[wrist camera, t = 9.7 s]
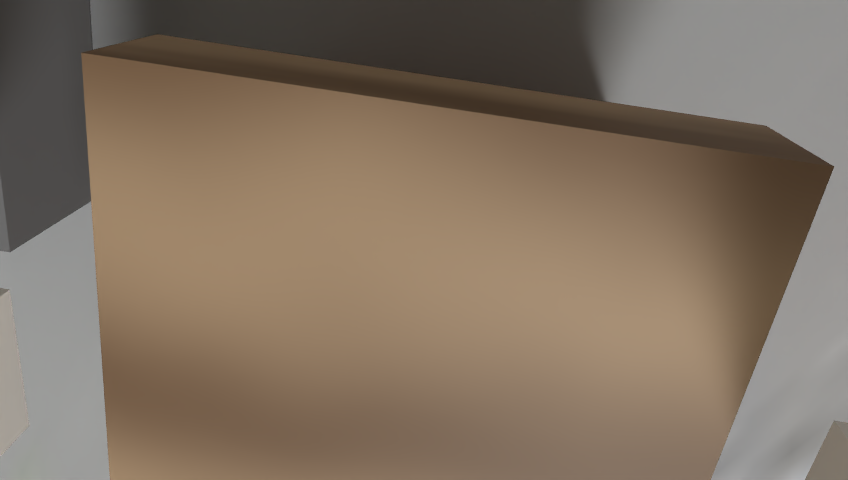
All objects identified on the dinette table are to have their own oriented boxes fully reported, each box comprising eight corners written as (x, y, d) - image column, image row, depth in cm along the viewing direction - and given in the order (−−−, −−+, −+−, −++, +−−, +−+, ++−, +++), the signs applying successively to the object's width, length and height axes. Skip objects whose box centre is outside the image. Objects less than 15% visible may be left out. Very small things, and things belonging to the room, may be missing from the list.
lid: (157, 34, 12) (81, 53, 10) (766, 125, 12) (833, 166, 10) (167, 496, 16) (117, 584, 14) (613, 569, 16) (635, 670, 14)
